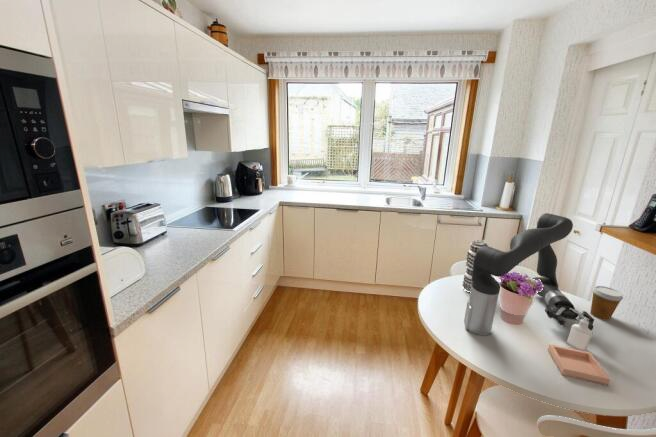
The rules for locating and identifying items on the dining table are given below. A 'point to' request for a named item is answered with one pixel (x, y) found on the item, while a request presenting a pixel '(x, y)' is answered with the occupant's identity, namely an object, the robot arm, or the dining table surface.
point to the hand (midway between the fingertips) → (577, 325)
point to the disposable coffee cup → (604, 302)
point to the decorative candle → (471, 263)
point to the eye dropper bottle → (580, 335)
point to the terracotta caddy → (578, 364)
